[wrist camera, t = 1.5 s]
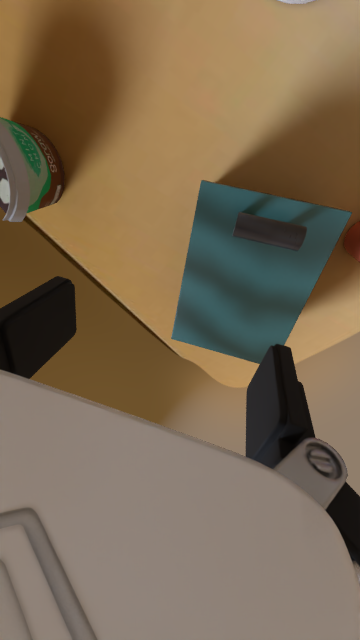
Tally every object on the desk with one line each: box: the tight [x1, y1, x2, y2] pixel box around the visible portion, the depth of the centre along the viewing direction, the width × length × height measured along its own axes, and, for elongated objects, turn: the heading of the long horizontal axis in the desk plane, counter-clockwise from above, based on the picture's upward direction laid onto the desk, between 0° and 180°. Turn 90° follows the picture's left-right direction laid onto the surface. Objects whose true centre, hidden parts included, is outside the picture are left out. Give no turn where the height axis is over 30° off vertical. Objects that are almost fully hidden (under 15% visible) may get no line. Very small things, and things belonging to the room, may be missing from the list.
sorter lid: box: [171, 180, 352, 364], centre depth 24 cm, size 17×13×5 cm
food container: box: [0, 117, 64, 222], centre depth 28 cm, size 12×6×10 cm, turn 34°
